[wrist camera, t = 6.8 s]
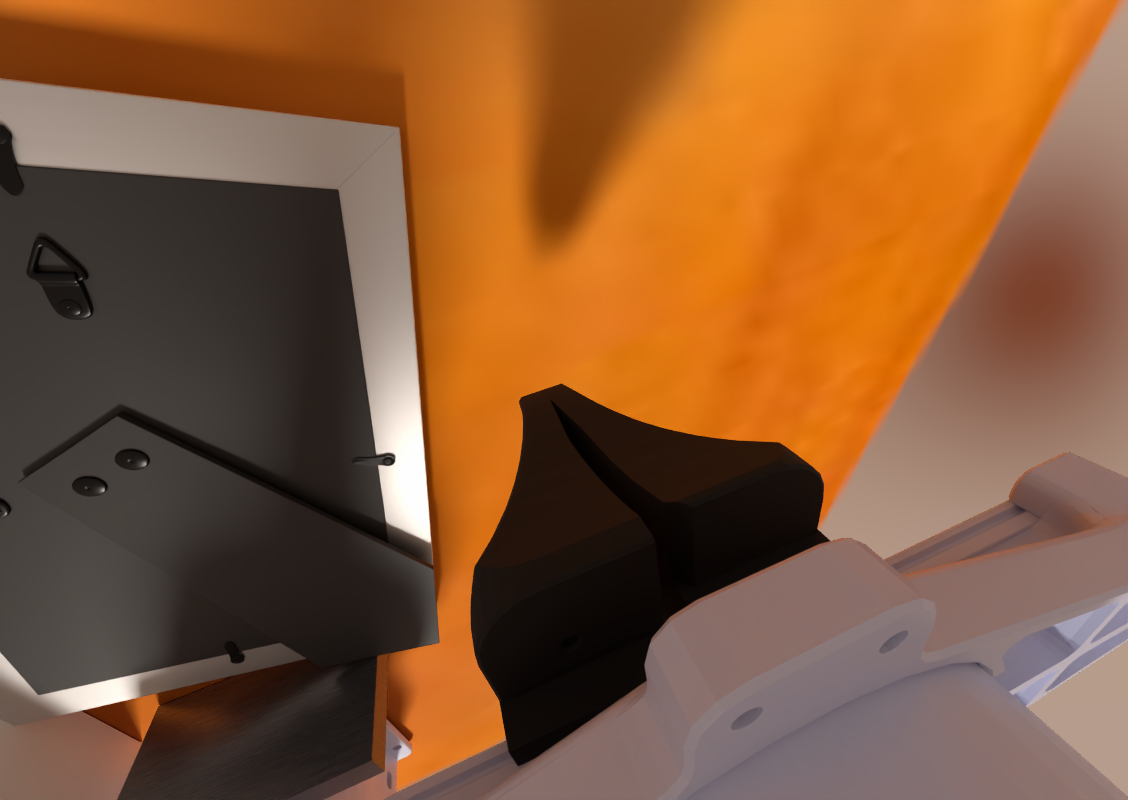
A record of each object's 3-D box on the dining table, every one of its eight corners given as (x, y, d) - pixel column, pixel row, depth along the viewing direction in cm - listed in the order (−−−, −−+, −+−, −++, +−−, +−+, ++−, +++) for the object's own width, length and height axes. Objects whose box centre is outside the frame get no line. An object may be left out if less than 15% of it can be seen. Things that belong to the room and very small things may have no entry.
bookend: (389, 630, 22) (384, 771, 17) (176, 717, 20) (101, 902, 15) (379, 617, 21) (371, 760, 16) (158, 706, 19) (73, 896, 14)
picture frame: (435, 592, 22) (400, 130, 13) (439, 643, 20) (399, 124, 10) (37, 673, 18) (-522, 20, 8) (-19, 753, 15) (-921, -39, 5)
